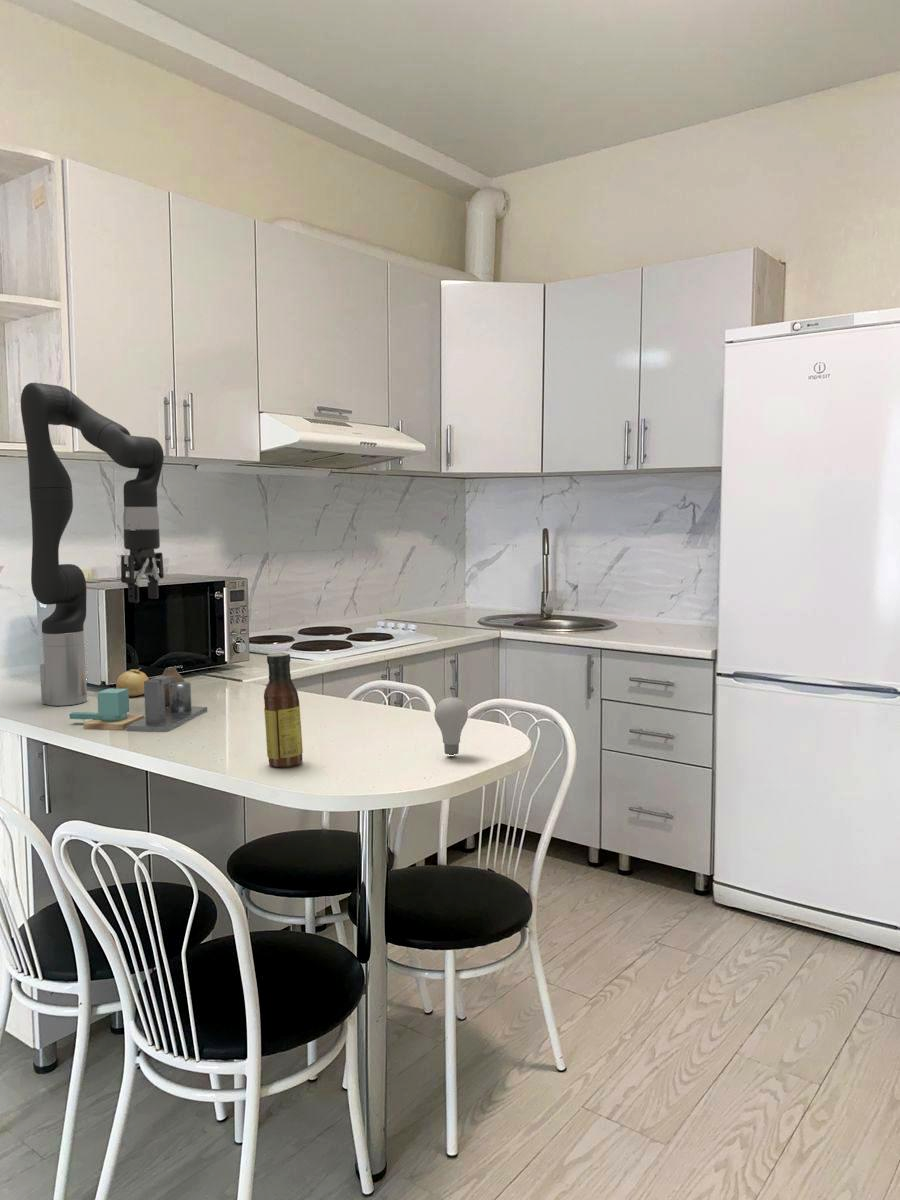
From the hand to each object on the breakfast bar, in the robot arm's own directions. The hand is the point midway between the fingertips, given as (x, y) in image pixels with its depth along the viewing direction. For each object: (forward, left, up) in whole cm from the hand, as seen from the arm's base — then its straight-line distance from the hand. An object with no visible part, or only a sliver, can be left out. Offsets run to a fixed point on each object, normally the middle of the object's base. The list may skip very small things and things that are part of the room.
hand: (143, 600), depth 204 cm
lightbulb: (+74, -29, -26) cm, 83 cm away
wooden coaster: (-2, -11, -26) cm, 28 cm away
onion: (-14, +20, -26) cm, 36 cm away
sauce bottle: (+45, -37, -26) cm, 63 cm away
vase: (+1, +10, -26) cm, 28 cm away
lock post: (+8, -6, -26) cm, 28 cm away
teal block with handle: (-6, -11, -25) cm, 28 cm away
